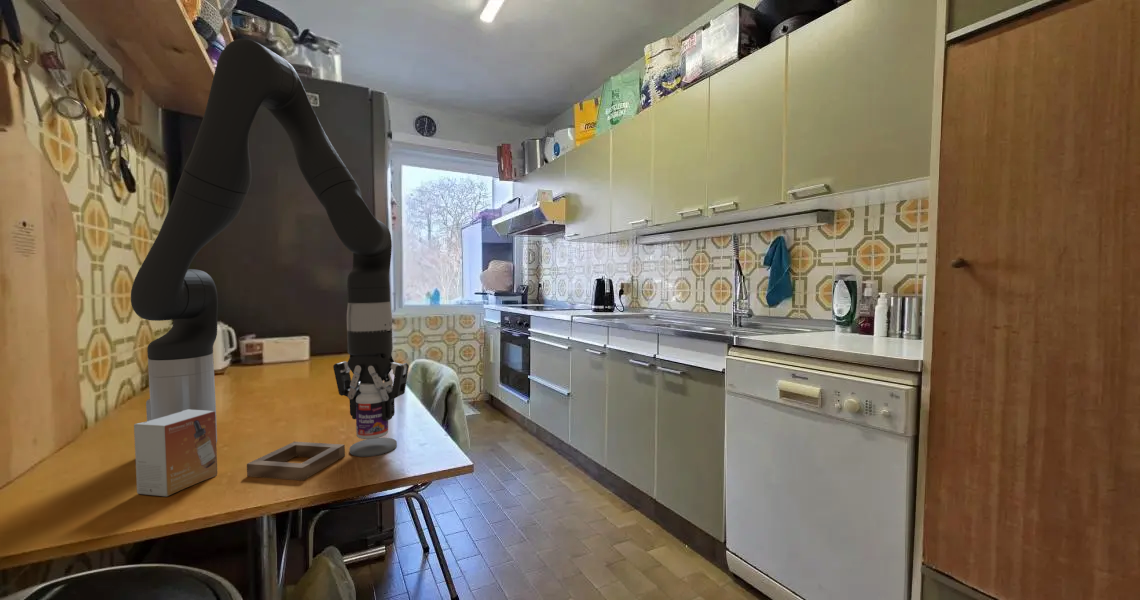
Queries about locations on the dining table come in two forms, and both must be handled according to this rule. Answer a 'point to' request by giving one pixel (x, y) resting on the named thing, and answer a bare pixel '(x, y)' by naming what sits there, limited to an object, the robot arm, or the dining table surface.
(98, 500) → the dining table surface
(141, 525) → the dining table surface
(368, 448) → the coaster
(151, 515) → the dining table surface
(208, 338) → the robot arm
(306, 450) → the frame
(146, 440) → the small box
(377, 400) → the pill bottle
